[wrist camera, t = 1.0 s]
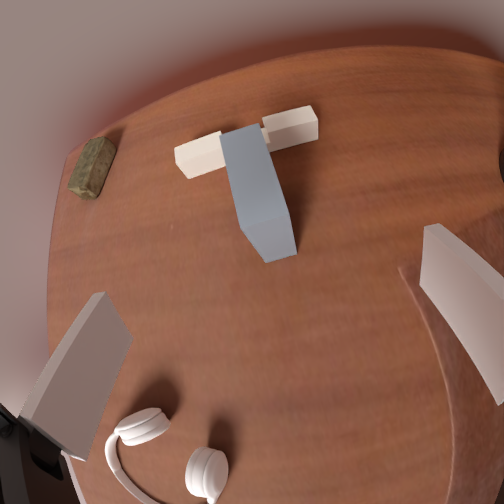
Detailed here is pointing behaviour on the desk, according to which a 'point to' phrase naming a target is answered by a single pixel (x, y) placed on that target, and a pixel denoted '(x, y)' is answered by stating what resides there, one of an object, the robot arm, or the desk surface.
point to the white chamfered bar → (275, 134)
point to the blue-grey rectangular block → (257, 193)
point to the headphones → (198, 468)
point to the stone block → (92, 168)
